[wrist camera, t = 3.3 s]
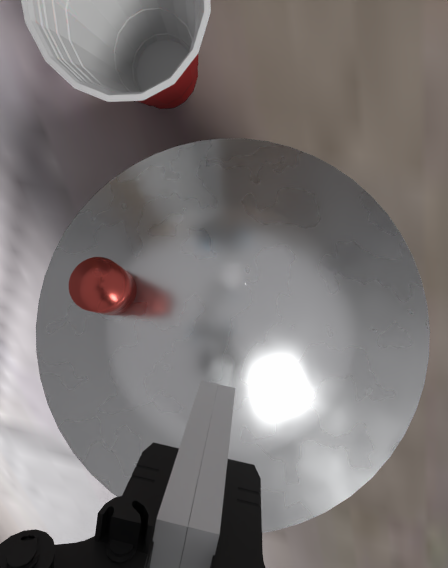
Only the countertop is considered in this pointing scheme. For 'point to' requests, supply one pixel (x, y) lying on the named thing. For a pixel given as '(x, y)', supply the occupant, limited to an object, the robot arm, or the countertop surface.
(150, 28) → the plastic cup
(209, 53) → the countertop surface
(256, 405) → the cooker lid
